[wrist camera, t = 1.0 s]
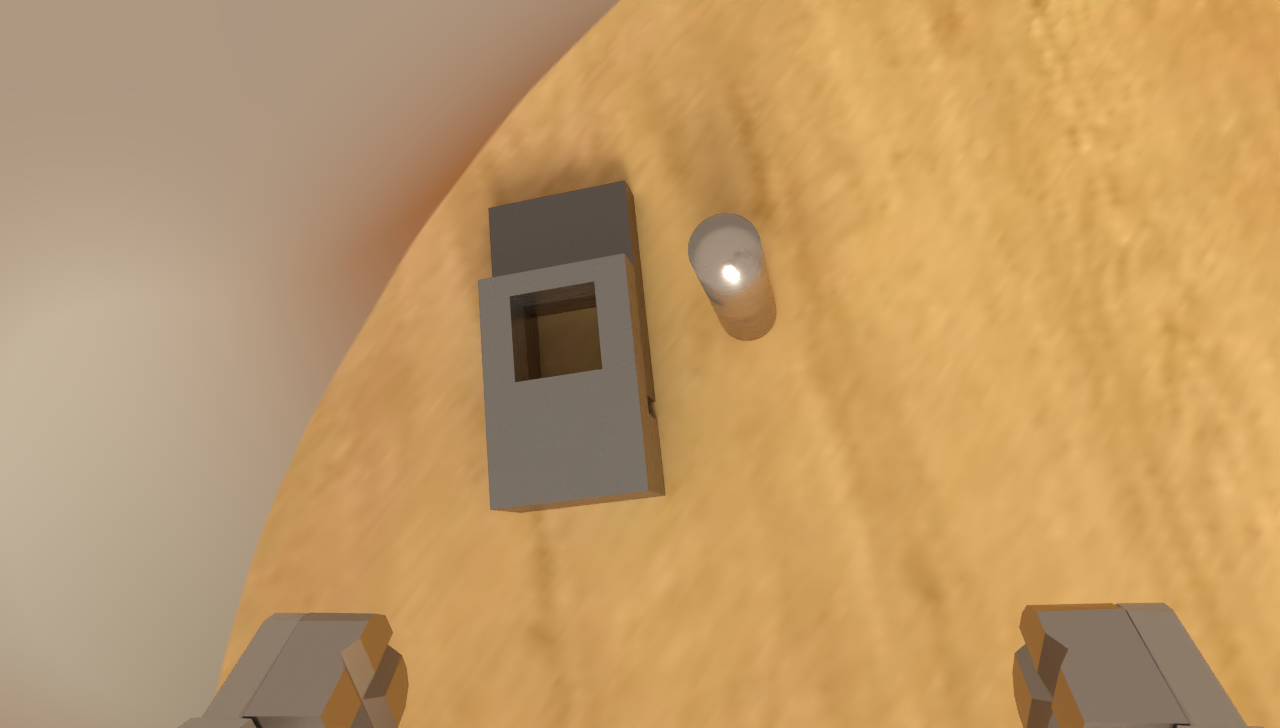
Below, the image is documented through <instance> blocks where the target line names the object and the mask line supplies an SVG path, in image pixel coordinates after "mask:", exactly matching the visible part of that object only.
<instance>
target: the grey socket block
mask: <svg viewBox="0 0 1280 728" xmlns="http://www.w3.org/2000/svg"><path fill="white" fill-rule="evenodd" d="M489 225H490V242H491V259H492V276H493V278H487V279H482V280H478V288H479V307H480V325H481V344H482V363H483V381H484V400H485V418H486V437H487V456H488V474H489V493H490V510H497V511H508V512H520V513H521V512H530V511H538V510H547V509H555V508H563V507H572V506H580V505H589V504H597V503H605V502H614V501H622V500H631V499H639V498H648V497H656V496H664V495H665V488H664V479H663V469H662V460H661V451H660V441H659V432H658V422H657V419H656V418H654V417H653V416H651V415H650V414H649V409H648V402H654V401H655V394H654V385H653V375H652V366H651V357H650V347H649V338H648V328H647V319H646V310H645V300H644V291H643V281H642V272H641V263H640V253H639V244H638V235H637V225H636V216H635V206H634V197H633V194H632V192H631V191H630V189H629V187H628V185H627V184H626V182H625V181H620V182H615V183H610V184H605V185H600V186H596V187H591V188H586V189H581V190H576V191H571V192H566V193H561V194H556V195H551V196H546V197H541V198H536V199H531V200H526V201H522V202H517V203H512V204H507V205H502V206H497V207H492V208H489ZM592 307H597V317H598V328H599V339H600V350H601V361H602V369H598V370H592V371H585V372H579V373H572V374H566V375H559V376H553V377H546V378H541V369H540V356H539V342H538V328H537V317H539V316H545V315H551V314H557V313H563V312H569V311H574V310H580V309H586V308H592Z"/></svg>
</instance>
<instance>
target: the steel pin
mask: <svg viewBox="0 0 1280 728" xmlns="http://www.w3.org/2000/svg"><path fill="white" fill-rule="evenodd" d="M688 255H689V260H690V262H691V264H692V266H693V268H694V270H695V272H696V274H697V276H698V278H699V280H700V282H701V284H702V286H703V288H704V290H705V292H706V294H707V296H708V298H709V300H710V302H711V304H712V306H713V308H714V310H715V312H716V314H717V316H718V318H719V320H720V322H721V324H722V326H723V328H724V329H725V331H726V332H727V333H728V334H729V335H730V336H732V337H734V338H736V339H738V340H743V341H752V340H756V339H759V338H761V337H763V336H764V335H766V334H767V333H768V332H769V331H770V330H771V328H772V327H773V325H774V323H775V320H776V306H775V302H774V297H773V293H772V289H771V285H770V280H769V276H768V272H767V268H766V263H765V259H764V255H763V251H762V246H761V242H760V238H759V235H758V232H757V230H756V229H755V227H754V226H753V225H752V224H751V223H750V222H749V221H748V220H747V219H745V218H743V217H741V216H739V215H735V214H718V215H714V216H712V217H710V218H708V219H706V220H704V221H703V222H702V223H701V224H699V225H698V227H697V228H696V229H695V230H694V232H693V233H692V235H691V238H690V240H689V245H688Z"/></svg>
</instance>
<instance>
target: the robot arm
mask: <svg viewBox="0 0 1280 728" xmlns="http://www.w3.org/2000/svg"><path fill="white" fill-rule="evenodd" d="M1019 628H1020V630H1021V633H1022V636H1023V638H1024V641H1025V643H1026V644H1025V645H1024V646H1023V647H1021V648H1020V649H1019V650H1018V651H1017V652H1015V656H1014V664H1013V672H1012V673H1013V686H1014V696H1015V700H1016V705H1017V709H1018V713H1019V716H1020V719H1021V722H1022V725H1023V728H1264V727H1257V726H1247V724H1246V723H1245V721H1244V720H1243V718H1242V716H1241V715H1240V713H1239V712H1238V710H1237V709H1236V707H1235V706H1234V704H1233V702H1232V701H1231V699H1230V698H1229V696H1228V695H1227V693H1226V692H1225V690H1224V688H1223V687H1222V685H1221V684H1220V682H1219V681H1218V679H1217V678H1216V676H1215V674H1214V673H1213V671H1212V670H1211V668H1210V667H1209V665H1208V663H1207V662H1206V660H1205V659H1204V657H1203V656H1202V654H1201V653H1200V651H1199V649H1198V648H1197V646H1196V645H1195V643H1194V642H1193V640H1192V639H1191V637H1190V635H1189V634H1188V632H1187V631H1186V629H1185V628H1184V626H1183V625H1182V623H1181V621H1180V620H1179V618H1178V617H1177V615H1176V614H1175V612H1174V611H1173V609H1171V608H1170V607H1169V606H1167V605H1166V604H1165V603H1120V604H1112V603H1101V604H1057V605H1027V606H1026V607H1025V609H1024V610H1023V612H1022V616H1021V621H1020V626H1019ZM392 634H393V631H392V629H391V627H390V624H389V622H388V620H387V618H386V616H385V615H380V614H355V613H275V614H273V615H272V616H271V617H269V618H268V619H266V620H265V621H264V622H263V624H262V625H261V627H260V628H259V630H258V631H257V633H256V634H255V636H254V637H253V639H252V641H251V642H250V644H249V645H248V647H247V648H246V650H245V651H244V653H243V655H242V656H241V658H240V659H239V661H238V662H237V664H236V665H235V667H234V668H233V670H232V672H231V673H230V675H229V676H228V678H227V679H226V681H225V682H224V684H223V686H222V687H221V689H220V690H219V692H218V693H217V695H216V696H215V698H214V699H213V701H212V703H211V704H210V706H209V707H208V709H207V710H206V712H205V713H204V715H203V717H202V718H190V719H189V720H188V721H186V722H185V723H184V724H182V725H181V726H179V727H178V728H398V726H399V723H400V721H401V718H402V715H403V713H404V710H405V707H406V700H407V692H408V685H409V684H408V675H407V667H406V665H405V662H404V659H403V657H402V655H401V654H400V653H398V652H397V651H396V650H394V649H393V648H392V647H390V646H389V645H388V643H389V640H390V638H391V636H392Z"/></svg>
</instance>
